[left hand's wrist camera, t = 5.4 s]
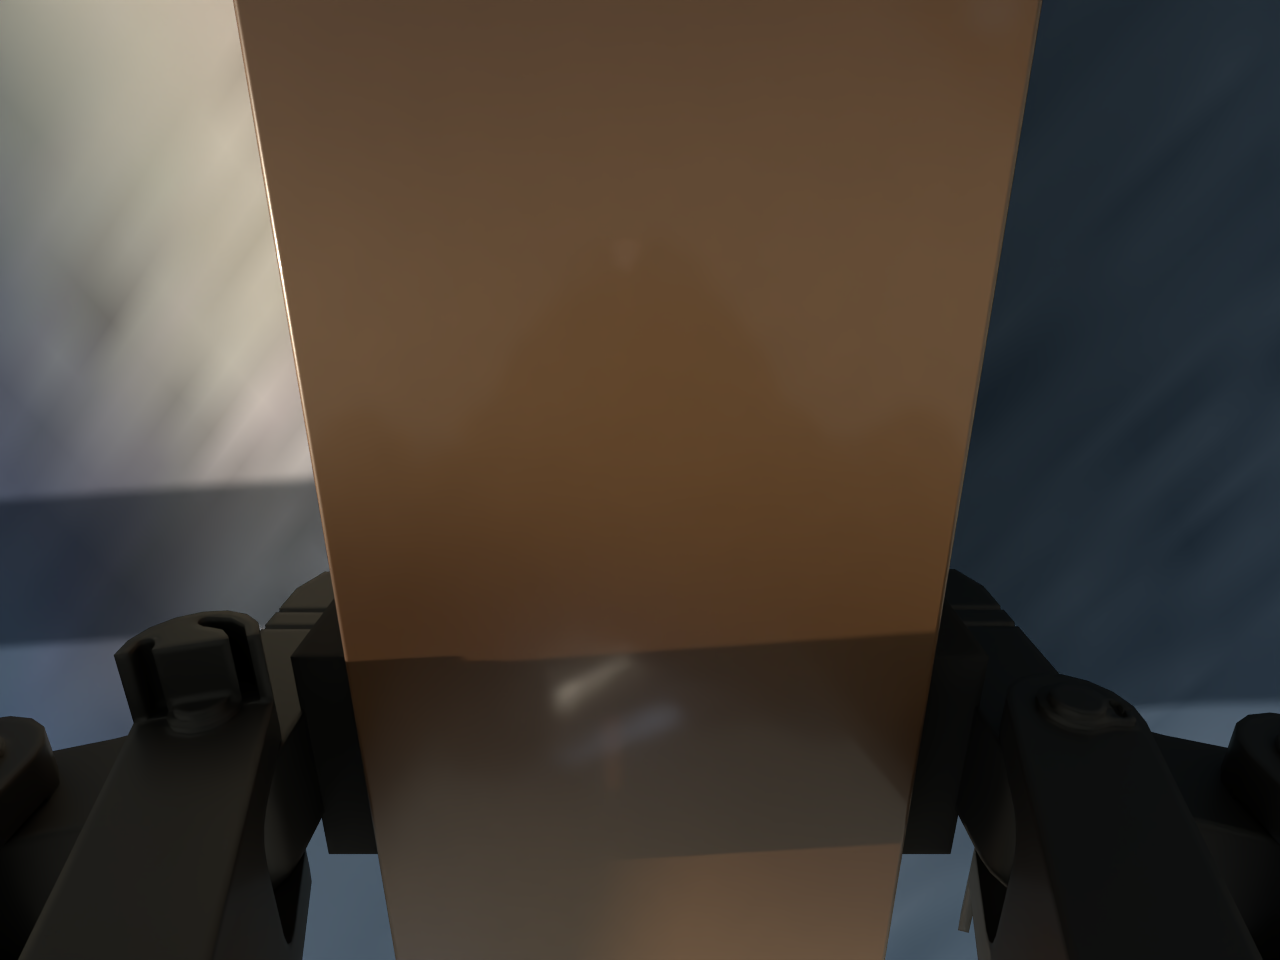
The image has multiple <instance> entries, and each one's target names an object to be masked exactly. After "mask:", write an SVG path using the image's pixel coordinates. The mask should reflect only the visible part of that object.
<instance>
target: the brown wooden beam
mask: <svg viewBox="0 0 1280 960" xmlns="http://www.w3.org/2000/svg"><path fill="white" fill-rule="evenodd" d="M233 2H234V8H235V14H236V20H237V26H238V32H239V38H240V44H241V50H242V55H243V61H244V67H245V73H246V79H247V85H248V91H249V97H250V103H251V109H252V114H253V120H254V126H255V132H256V138H257V144H258V150H259V156H260V162H261V168H262V173H263V179H264V185H265V191H266V197H267V203H268V209H269V215H270V221H271V226H272V232H273V238H274V244H275V250H276V256H277V262H278V268H279V274H280V280H281V285H282V291H283V297H284V303H285V309H286V315H287V321H288V327H289V333H290V339H291V344H292V350H293V356H294V362H295V368H296V374H297V380H298V386H299V392H300V398H301V403H302V409H303V415H304V421H305V427H306V433H307V439H308V445H309V451H310V456H311V462H312V468H313V474H314V480H315V486H316V492H317V498H318V504H319V510H320V515H321V521H322V527H323V533H324V539H325V545H326V551H327V557H328V563H329V569H330V574H331V580H332V586H333V592H334V598H335V604H336V610H337V616H338V622H339V627H340V633H341V639H342V645H343V651H344V657H345V663H346V669H347V675H348V681H349V686H350V692H351V698H352V704H353V710H354V716H355V722H356V728H357V734H358V740H359V745H360V751H361V757H362V763H363V769H364V775H365V781H366V787H367V793H368V799H369V804H370V810H371V816H372V822H373V828H374V834H375V840H376V846H377V852H378V857H379V863H380V869H381V875H382V881H383V887H384V893H385V899H386V905H387V911H388V916H389V922H390V928H391V934H392V940H393V946H394V952H395V958H396V960H885V956H886V949H887V943H888V937H889V931H890V925H891V919H892V913H893V907H894V901H895V895H896V889H897V883H898V876H899V870H900V864H901V858H902V852H903V846H904V840H905V834H906V828H907V822H908V816H909V810H910V803H911V797H912V791H913V785H914V779H915V773H916V767H917V761H918V755H919V749H920V743H921V737H922V730H923V724H924V718H925V712H926V706H927V700H928V694H929V688H930V682H931V676H932V670H933V664H934V657H935V651H936V645H937V639H938V633H939V627H940V621H941V615H942V609H943V603H944V597H945V591H946V584H947V578H948V572H949V566H950V560H951V554H952V548H953V542H954V536H955V530H956V524H957V518H958V511H959V505H960V499H961V493H962V487H963V481H964V475H965V469H966V463H967V457H968V451H969V445H970V438H971V432H972V426H973V420H974V414H975V408H976V402H977V396H978V390H979V384H980V378H981V372H982V365H983V359H984V353H985V347H986V341H987V335H988V329H989V323H990V317H991V311H992V305H993V299H994V292H995V286H996V280H997V274H998V268H999V262H1000V256H1001V250H1002V244H1003V238H1004V232H1005V226H1006V219H1007V213H1008V207H1009V201H1010V195H1011V189H1012V183H1013V177H1014V171H1015V165H1016V159H1017V153H1018V146H1019V140H1020V134H1021V128H1022V122H1023V116H1024V110H1025V104H1026V98H1027V92H1028V86H1029V80H1030V73H1031V67H1032V61H1033V55H1034V49H1035V43H1036V37H1037V31H1038V25H1039V19H1040V13H1041V7H1042V0H233Z"/></svg>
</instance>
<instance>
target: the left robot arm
mask: <svg viewBox="0 0 1280 960" xmlns="http://www.w3.org/2000/svg"><path fill="white" fill-rule="evenodd" d="M114 657H115V661H116V664H117V668H118V671H119V674H120V678H121V681H122V685H123V688H124V691H125V695H126V698H127V701H128V705H129V708H130V712H131V715H132V718H133V722H134V724H133V726H132V728H131V730H130V732H129V734H128V736H124V737H120V738H116V739H111V740H106V741H101V742H96V743H91V744H86V745H81V746H76V747H71V748H66V749H61V750H56V751H52V748H51V745H50V742H49V739H48V737H47V734H46V731H45V728H44V726H42V725H41V724H39V723H38V722H36V721H35V720H34V719H32V718H23V717H13V716H8V717H1V718H0V960H302V957H303V948H304V940H305V932H306V924H307V915H308V907H309V899H310V890H311V882H312V881H311V874H310V868H309V862H308V857H307V853H306V847H307V845H308V843H309V842H310V840H311V838H312V836H313V834H314V832H315V830H316V828H317V826H318V824H319V822H320V820H321V818H322V821H323V826H324V832H325V837H326V842H327V847H328V852H329V854H378V852H377V846H376V840H375V834H374V828H373V822H372V816H371V810H370V804H369V799H368V793H367V787H366V781H365V775H364V769H363V763H362V757H361V751H360V745H359V740H358V734H357V728H356V722H355V716H354V710H353V704H352V698H351V692H350V686H349V681H348V675H347V669H346V663H345V657H344V651H343V645H342V639H341V633H340V627H339V622H338V616H337V610H336V604H335V598H334V592H333V586H332V580H331V574H330V572H324V573H322V574H320V575H319V576H317V577H315V578H314V579H312V580H310V581H309V582H307V583H305V584H304V585H302V586H300V587H299V588H297V589H296V590H295V591H294V592H293V593H292V595H291V596H290V597H289V598H288V599H287V600H286V602H285V603H284V604H283V605H282V606H281V607H280V611H279V612H276V613H275V614H274V616H273V617H272V618H271V619H270V620H269V621H268V623H267V624H266V625H265V629H261V631H260V629H259V624H258V622H257V621H256V620H254V619H253V618H251V617H250V616H249V615H247V614H243V613H238V612H233V611H209V612H200V613H195V614H191V615H186V616H181V617H177V618H174V619H171V620H169V621H166V622H163V623H161V624H158V625H155V626H153V627H150V628H148V629H147V630H145V631H143V632H142V633H140V634H138V635H136V636H135V637H133V638H131V639H130V640H128V641H127V642H126V643H125V644H124V645H123V646H122V647H121V648H120V649H119V650H118V651H117V652H116V653H115V654H114ZM958 815H959V817H960V819H961V821H962V823H963V825H964V827H965V829H966V831H967V833H968V835H969V837H970V839H971V841H972V843H973V845H974V847H975V848H974V853H973V857H972V862H971V867H970V872H969V877H968V881H967V886H966V891H965V896H964V900H963V905H962V910H961V915H960V921H959V928H958V930H960V931H964V932H968V933H969V929H970V924H971V920H972V916H973V922H974V930H975V938H976V946H977V955H978V960H1280V714H1277V713H1261V714H1252V715H1247V716H1246V717H1244V718H1243V719H1242V720H1240V721H1239V722H1237V723H1236V725H1235V728H1234V731H1233V734H1232V737H1231V740H1230V743H1229V746H1228V748H1226V747H1221V746H1216V745H1211V744H1206V743H1201V742H1196V741H1191V740H1186V739H1180V738H1175V737H1170V736H1165V735H1161V734H1157V733H1154V732H1151V731H1150V729H1149V727H1148V725H1147V723H1146V721H1145V720H1144V719H1143V717H1142V716H1141V715H1140V714H1139V712H1138V711H1137V710H1136V709H1135V708H1134V706H1132V705H1131V704H1129V703H1128V702H1127V701H1125V700H1124V699H1122V698H1121V697H1119V696H1118V695H1117V694H1115V693H1114V692H1112V691H1110V690H1107V689H1105V688H1103V687H1101V686H1098V685H1096V684H1094V683H1092V682H1089V681H1086V680H1082V679H1078V678H1074V677H1070V676H1066V675H1062V674H1059V673H1058V672H1057V671H1056V670H1055V668H1054V667H1053V666H1052V665H1051V664H1050V663H1049V662H1048V660H1047V659H1046V658H1045V657H1044V656H1043V655H1042V653H1041V652H1040V651H1039V650H1038V649H1037V648H1036V647H1035V645H1034V644H1033V643H1032V642H1031V641H1030V640H1029V638H1028V637H1027V636H1026V635H1025V634H1024V633H1023V631H1022V630H1021V629H1020V628H1019V627H1015V625H1014V621H1013V620H1012V619H1011V618H1010V616H1009V615H1008V614H1007V613H1006V612H1005V611H1004V610H1001V609H1000V605H999V604H998V603H997V601H996V600H995V599H994V598H993V597H992V596H991V595H990V593H989V592H988V591H987V590H986V589H985V588H984V586H982V585H981V584H979V583H977V582H975V581H974V580H972V579H970V578H969V577H967V576H965V575H964V574H962V573H960V572H959V571H957V570H955V569H949V572H948V578H947V584H946V591H945V597H944V603H943V609H942V615H941V621H940V627H939V633H938V639H937V645H936V651H935V657H934V664H933V670H932V676H931V682H930V688H929V694H928V700H927V706H926V712H925V718H924V724H923V730H922V737H921V743H920V749H919V755H918V761H917V767H916V773H915V779H914V785H913V791H912V797H911V803H910V810H909V816H908V822H907V828H906V834H905V840H904V846H903V852H902V854H951V849H952V844H953V839H954V833H955V828H956V823H957V818H958Z"/></svg>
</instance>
